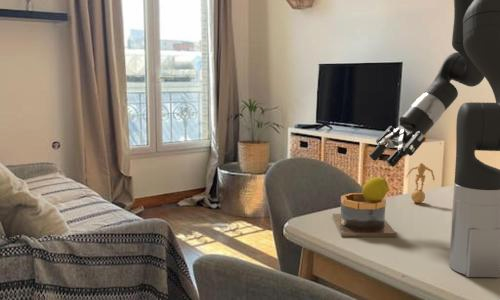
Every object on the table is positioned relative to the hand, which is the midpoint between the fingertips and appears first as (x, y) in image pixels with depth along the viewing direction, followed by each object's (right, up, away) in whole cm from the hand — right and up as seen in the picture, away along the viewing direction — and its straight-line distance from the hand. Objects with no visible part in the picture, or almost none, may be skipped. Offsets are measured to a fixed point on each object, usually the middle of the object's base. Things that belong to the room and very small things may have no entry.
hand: (380, 161), depth 125 cm
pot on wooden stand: (-4, -17, +1) cm, 17 cm away
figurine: (+18, -13, +26) cm, 34 cm away
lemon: (-4, -10, +1) cm, 11 cm away
